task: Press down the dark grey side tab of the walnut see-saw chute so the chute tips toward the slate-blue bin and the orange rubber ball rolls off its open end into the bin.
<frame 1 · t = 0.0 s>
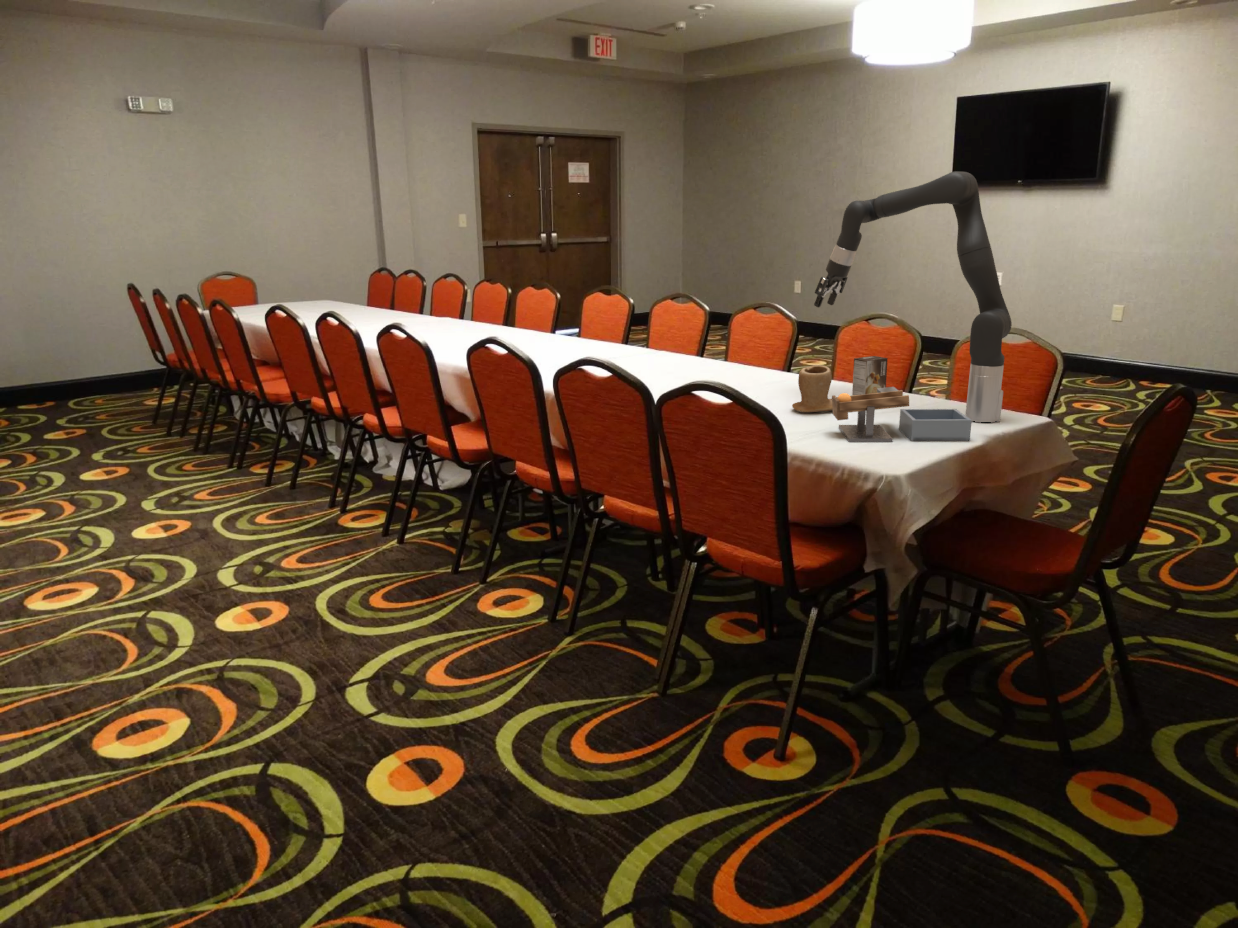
hand: (823, 305, 287), 31 cm above the table, tool tilted 20°, fingers open, 8 cm apart
stand: (864, 434, 244), on the table
coffee box: (867, 406, 279), on the table
ball: (844, 400, 241), point 10 cm above the table, tilted 19°, touching chute
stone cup: (816, 412, 273), on the table
bin: (933, 434, 242), on the table
chute: (866, 400, 245), point 9 cm above the table, hinge at 6.0°, touching ball
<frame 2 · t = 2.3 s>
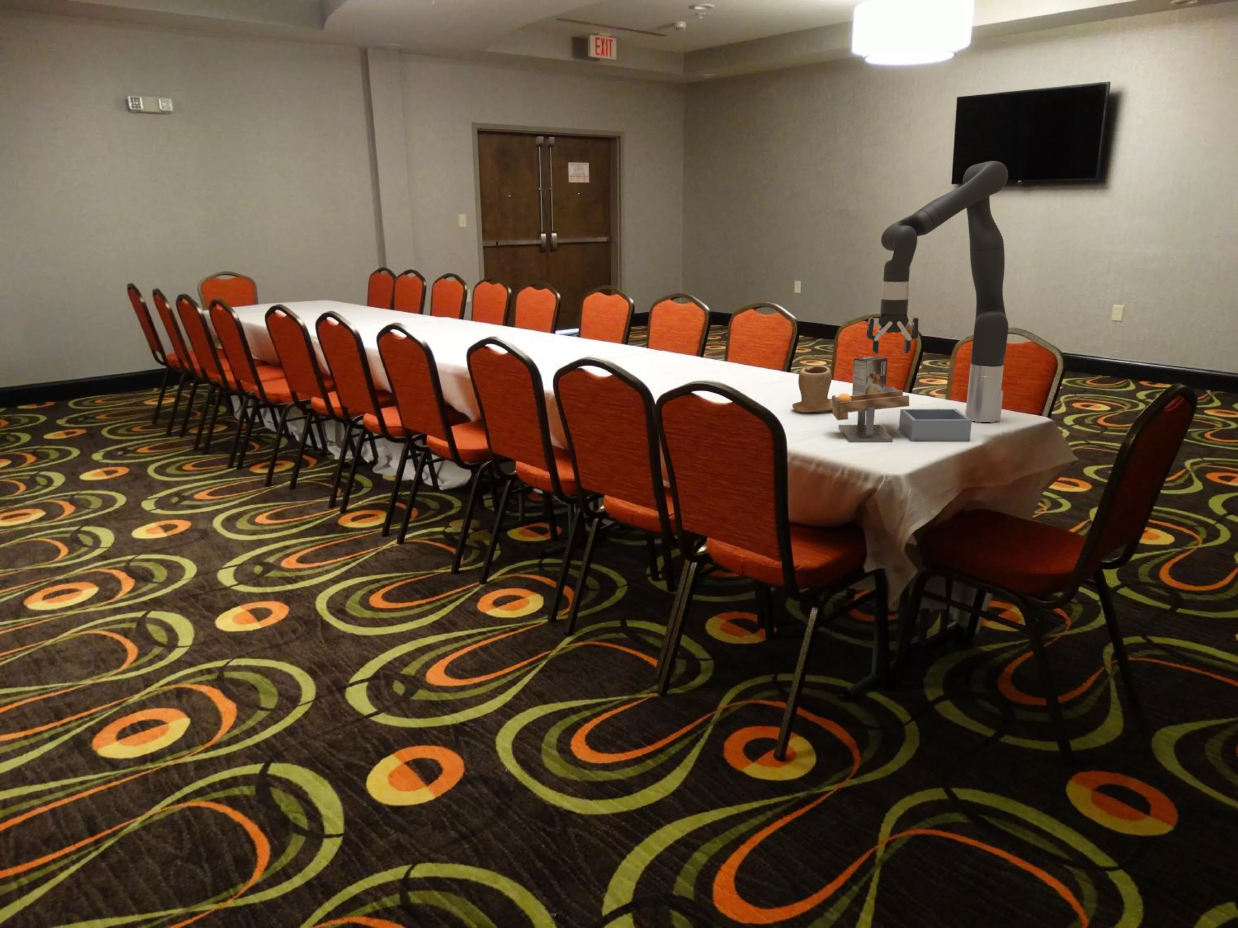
hand: (890, 353, 246), 22 cm above the table, tool pointing down, fingers open, 8 cm apart
nothing on the table moved.
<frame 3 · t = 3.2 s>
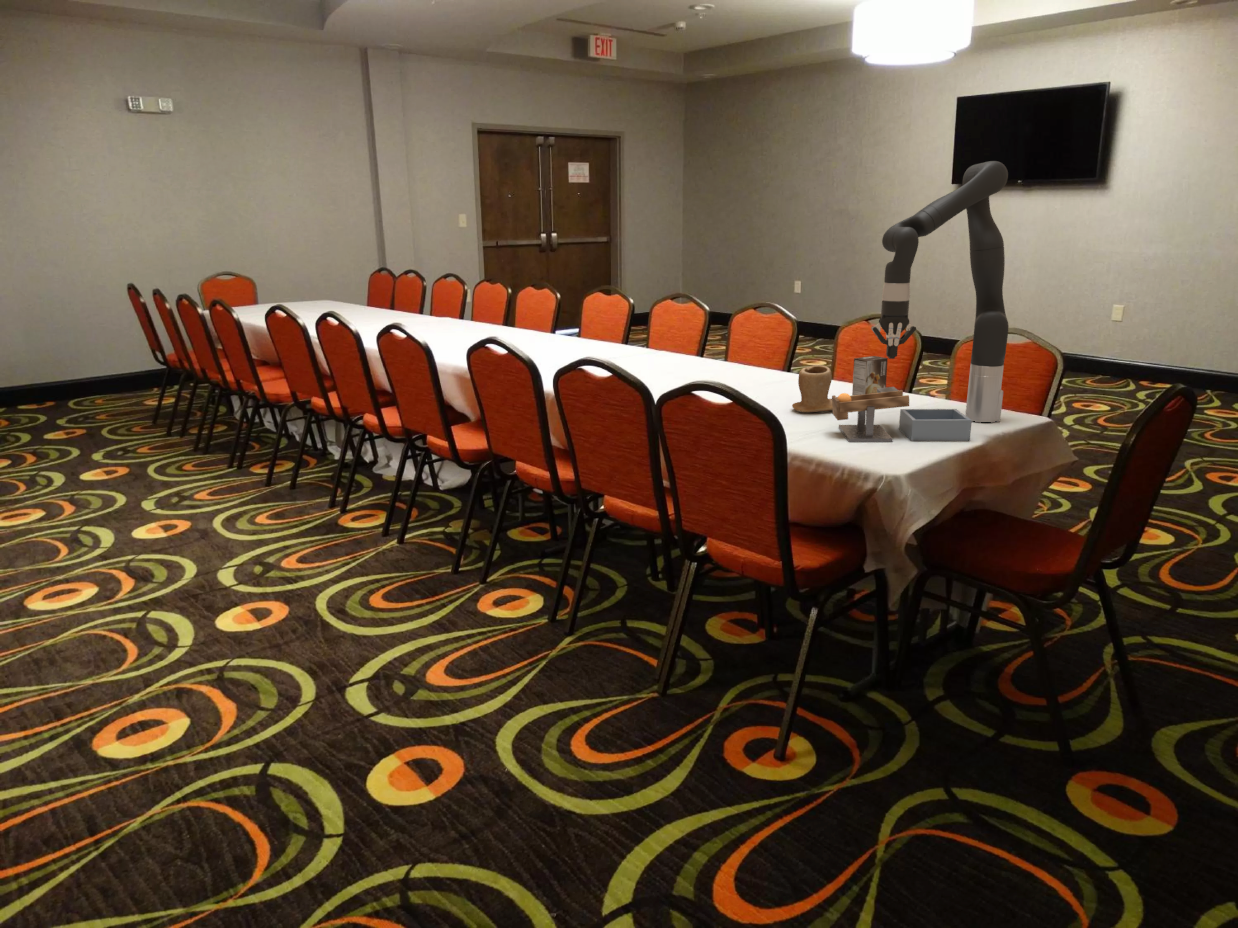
hand: (891, 358, 247), 21 cm above the table, tool pointing down, fingers closed
nothing on the table moved.
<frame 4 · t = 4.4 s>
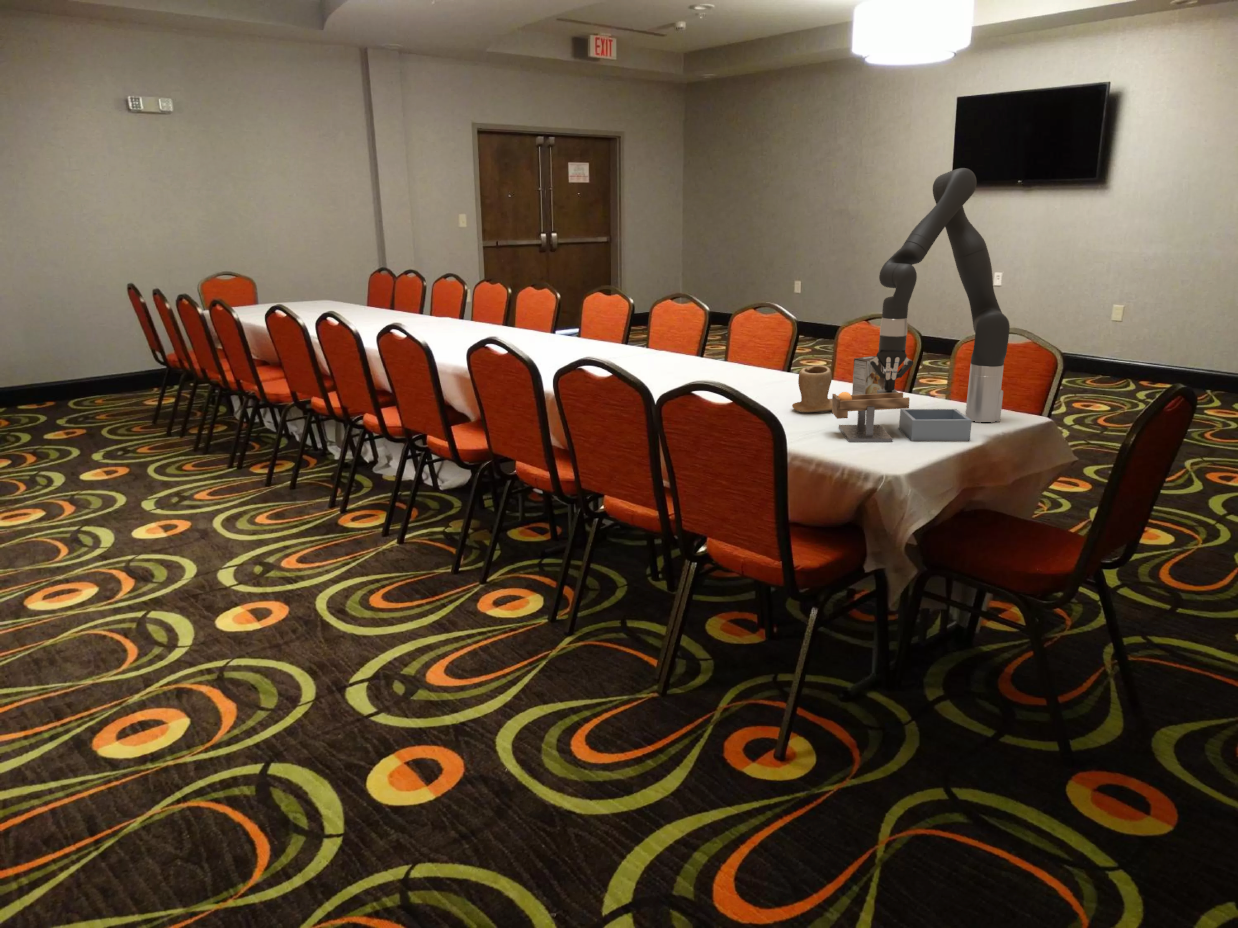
hand: (888, 391, 250), 11 cm above the table, tool pointing down, fingers closed
ball: (844, 398, 241), point 11 cm above the table, tilted 16°
chute: (866, 400, 245), point 9 cm above the table, hinge at 2.6°, touching gripper
everything else where it was.
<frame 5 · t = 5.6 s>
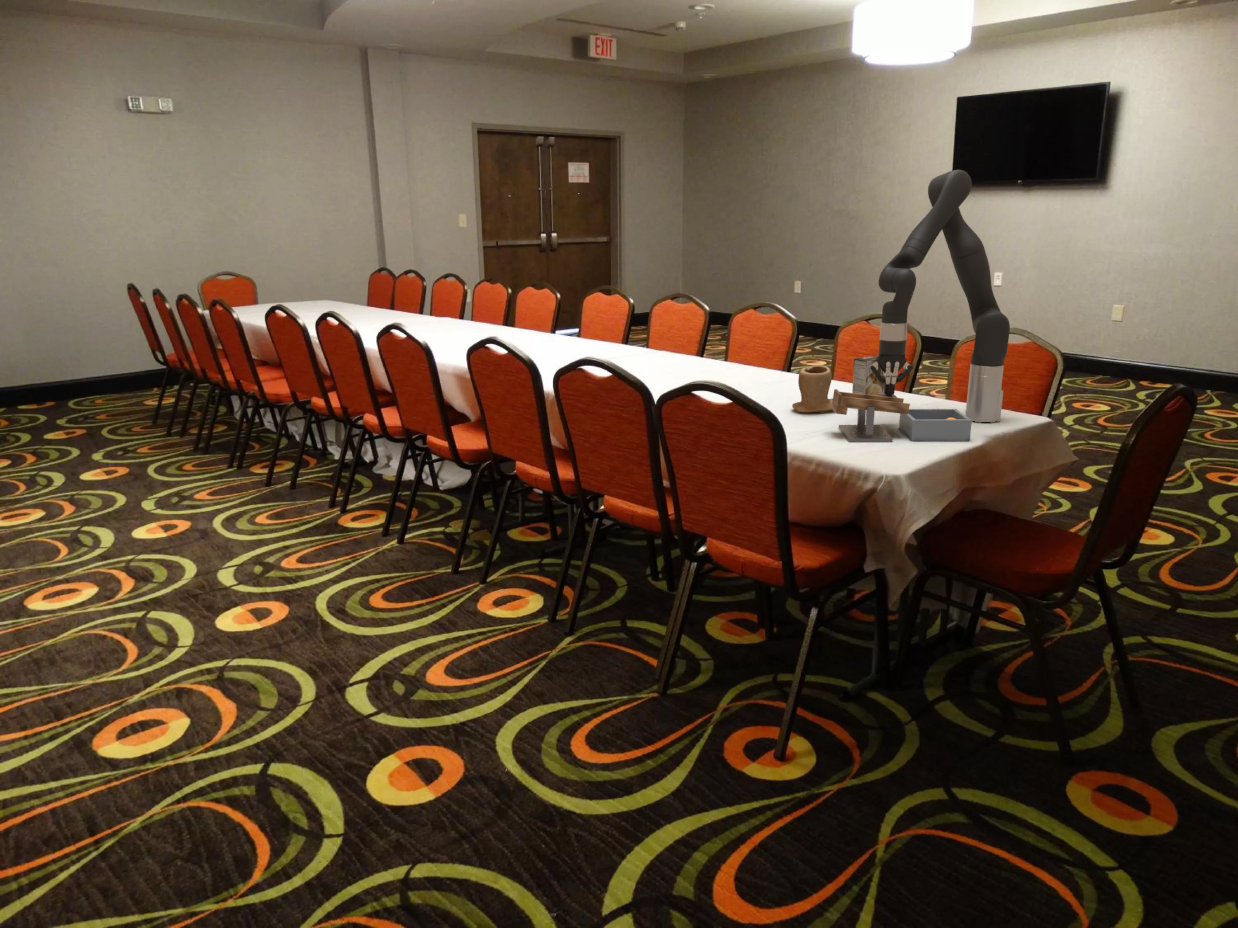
hand: (888, 396, 250), 9 cm above the table, tool pointing down, fingers closed
ball: (950, 424, 241), point 3 cm above the table, tilted 177°
chute: (866, 401, 245), point 9 cm above the table, hinge at -6.4°, touching gripper
everything else where it was.
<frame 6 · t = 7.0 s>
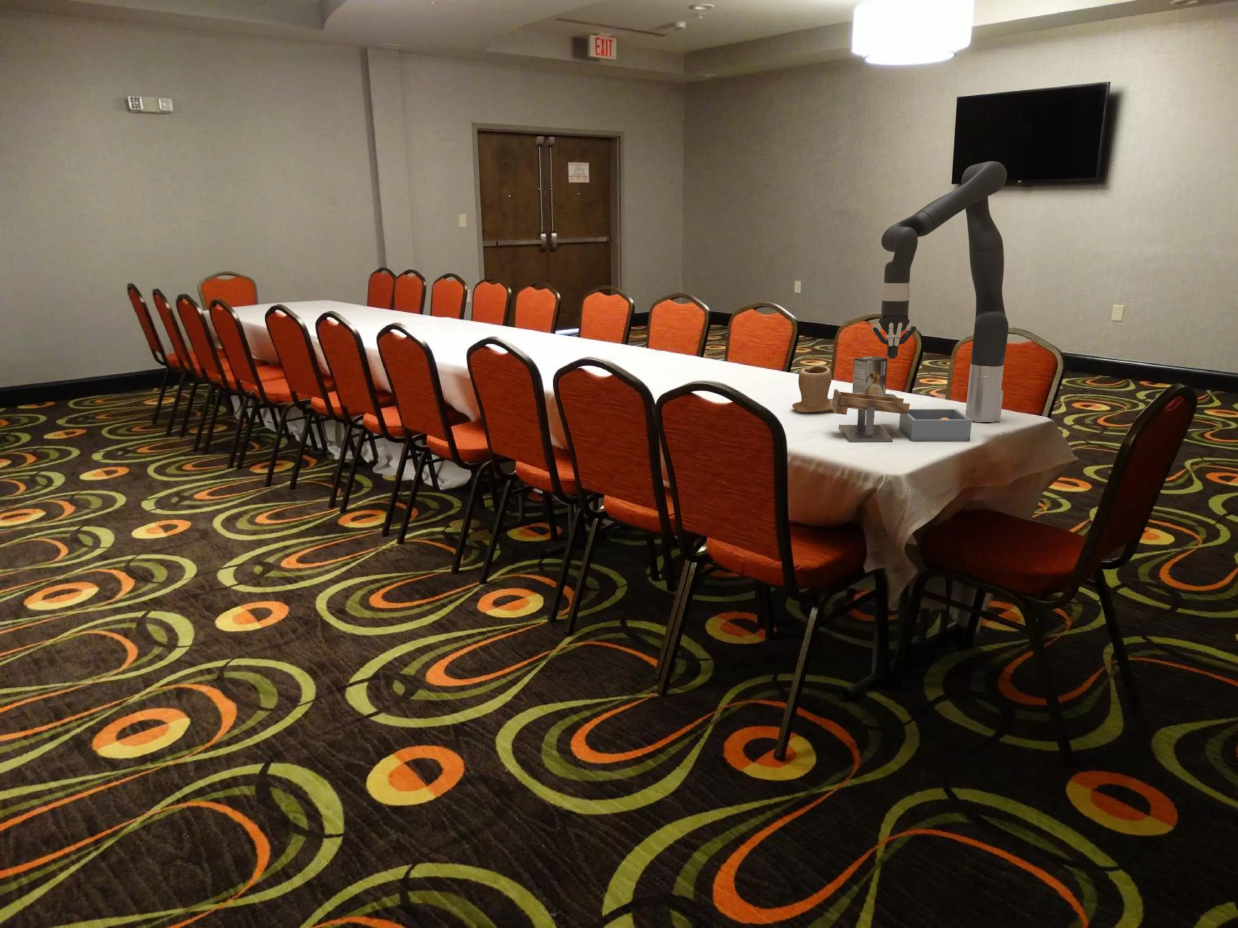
hand: (891, 358, 246), 21 cm above the table, tool pointing down, fingers closed
ball: (944, 424, 241), point 3 cm above the table, tilted 127°, touching bin
chute: (866, 401, 245), point 9 cm above the table, hinge at -6.4°
everything else where it was.
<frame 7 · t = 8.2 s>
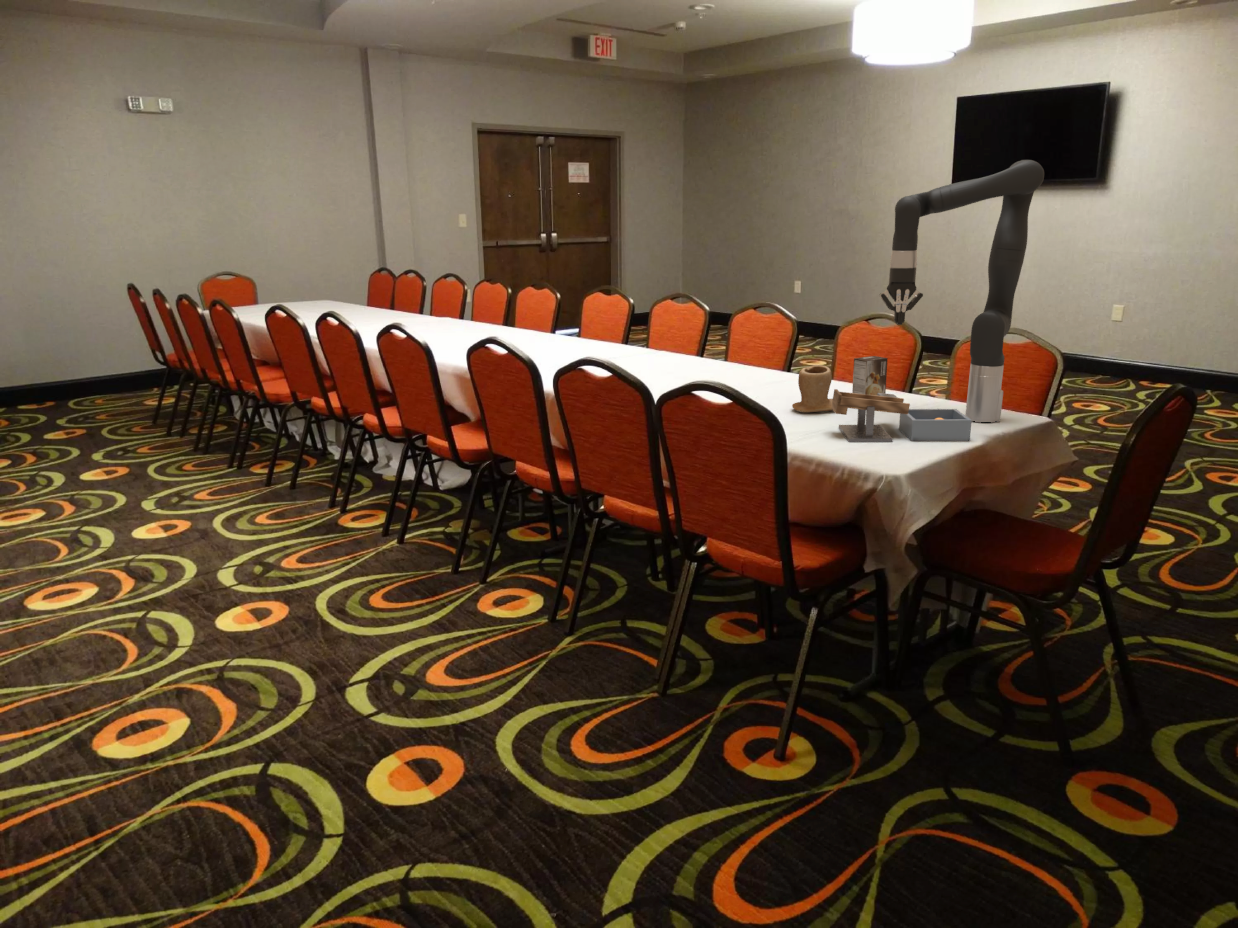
hand: (898, 324, 255), 29 cm above the table, tool pointing down, fingers closed
ball: (939, 424, 241), point 3 cm above the table, tilted 84°, touching bin
everything else where it was.
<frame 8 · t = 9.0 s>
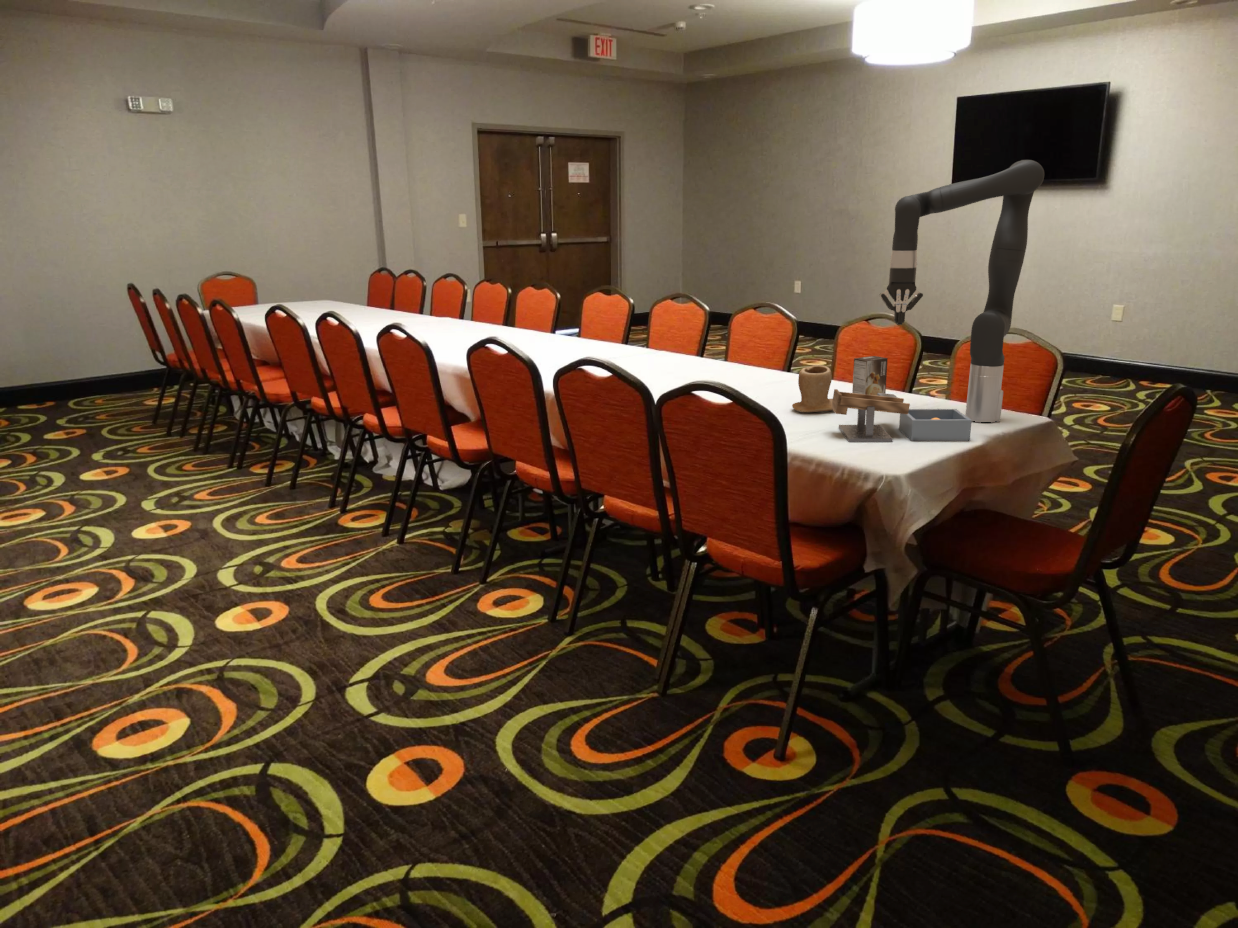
hand: (898, 324, 255), 29 cm above the table, tool pointing down, fingers closed
ball: (935, 424, 241), point 3 cm above the table, tilted 55°, touching bin
everything else where it was.
at the end: ball inside the target area on the bin (0.2 cm from its centre), point 3.0 cm above the bin's base; the gripper is holding nothing; chute at -6° (first picture: +6°) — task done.
